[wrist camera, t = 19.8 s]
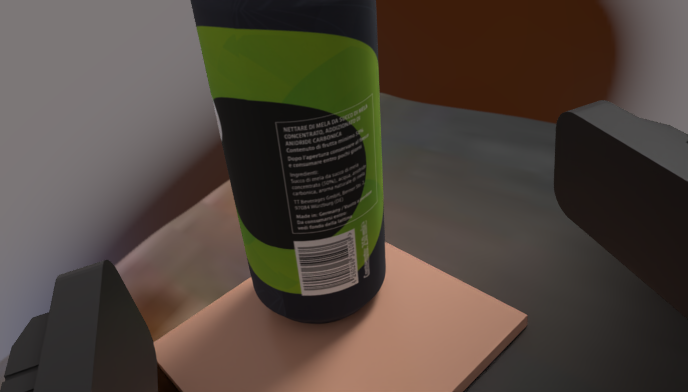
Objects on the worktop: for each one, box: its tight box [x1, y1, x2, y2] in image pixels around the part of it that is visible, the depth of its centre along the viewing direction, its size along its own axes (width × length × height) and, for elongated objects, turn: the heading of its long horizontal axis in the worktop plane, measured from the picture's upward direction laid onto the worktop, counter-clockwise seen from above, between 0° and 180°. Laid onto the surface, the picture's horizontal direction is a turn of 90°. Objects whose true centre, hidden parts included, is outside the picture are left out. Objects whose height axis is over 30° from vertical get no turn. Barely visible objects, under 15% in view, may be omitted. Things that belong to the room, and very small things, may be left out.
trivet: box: [154, 242, 527, 392], centre depth 25 cm, size 12×12×1 cm
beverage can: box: [191, 0, 386, 324], centre depth 23 cm, size 6×6×15 cm
